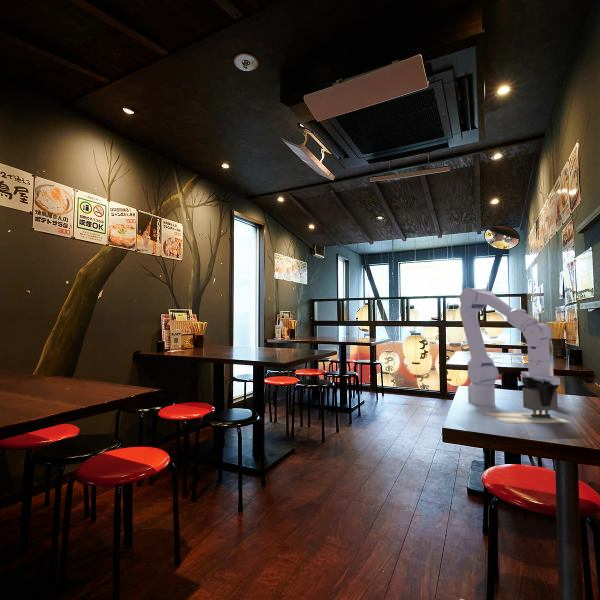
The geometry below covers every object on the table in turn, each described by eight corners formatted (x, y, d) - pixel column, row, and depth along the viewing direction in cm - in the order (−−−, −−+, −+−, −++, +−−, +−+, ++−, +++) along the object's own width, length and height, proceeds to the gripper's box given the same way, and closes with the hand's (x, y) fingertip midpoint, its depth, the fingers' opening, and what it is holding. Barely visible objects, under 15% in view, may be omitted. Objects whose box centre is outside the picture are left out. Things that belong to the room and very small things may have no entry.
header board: (484, 417, 118) (483, 403, 118) (542, 416, 119) (541, 402, 119) (507, 428, 106) (506, 412, 106) (571, 427, 107) (570, 412, 107)
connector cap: (523, 407, 115) (522, 388, 115) (547, 406, 115) (546, 387, 115) (533, 410, 110) (532, 390, 111) (557, 410, 111) (556, 390, 111)
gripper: (511, 358, 120) (513, 399, 120) (543, 363, 106) (545, 409, 105) (532, 358, 121) (533, 398, 120) (566, 363, 106) (568, 409, 106)
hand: (540, 404), depth 113 cm, fingers closed on connector cap, 4 cm apart
